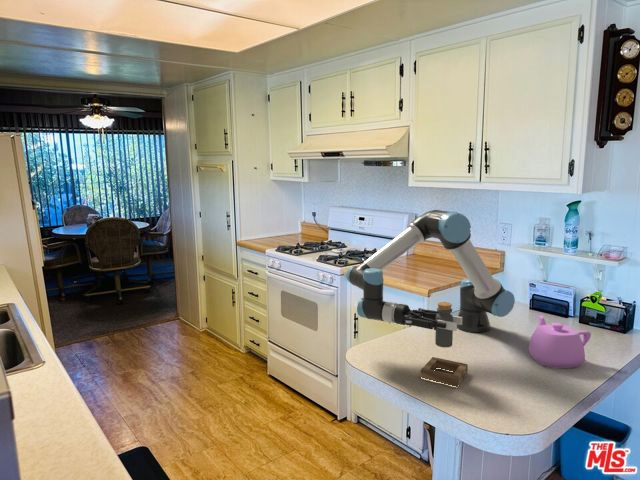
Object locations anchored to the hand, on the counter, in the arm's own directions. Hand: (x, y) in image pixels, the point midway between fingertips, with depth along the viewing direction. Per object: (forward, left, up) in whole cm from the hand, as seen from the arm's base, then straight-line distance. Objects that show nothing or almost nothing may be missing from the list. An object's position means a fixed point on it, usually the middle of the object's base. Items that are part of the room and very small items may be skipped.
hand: (459, 324), depth 153 cm
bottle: (0, -5, -9) cm, 10 cm away
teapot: (-33, +27, -21) cm, 48 cm away
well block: (0, -5, -21) cm, 21 cm away
